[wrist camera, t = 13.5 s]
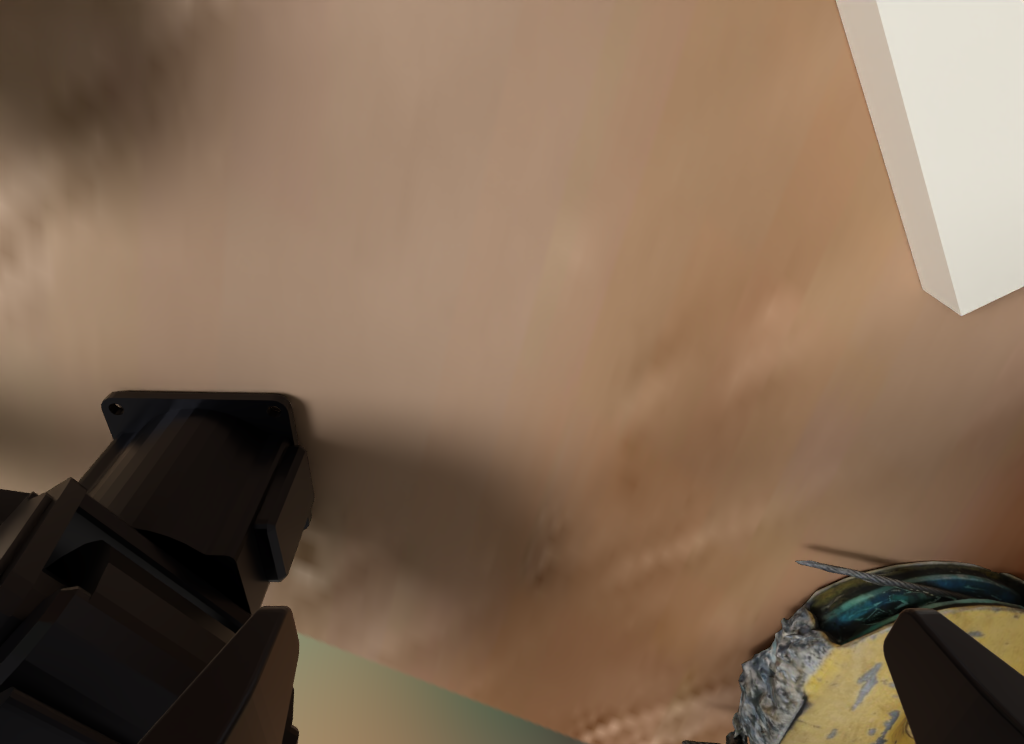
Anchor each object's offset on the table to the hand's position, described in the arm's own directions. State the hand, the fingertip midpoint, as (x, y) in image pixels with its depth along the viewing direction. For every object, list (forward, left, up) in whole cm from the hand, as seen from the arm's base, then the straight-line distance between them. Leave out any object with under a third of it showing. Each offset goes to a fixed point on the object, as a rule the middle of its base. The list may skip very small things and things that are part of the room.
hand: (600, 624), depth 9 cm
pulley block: (+24, -22, -14) cm, 35 cm away
